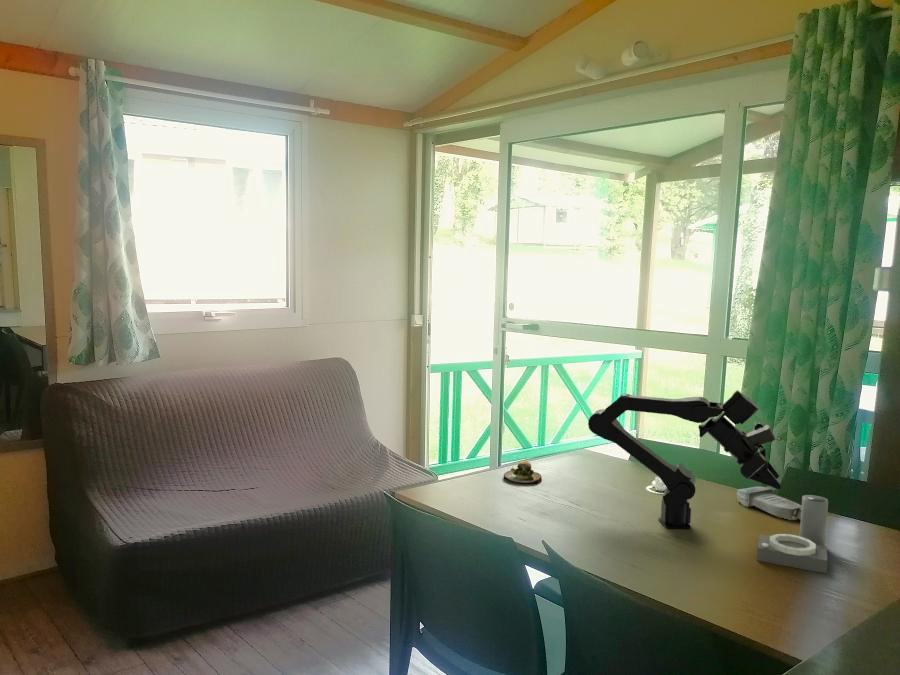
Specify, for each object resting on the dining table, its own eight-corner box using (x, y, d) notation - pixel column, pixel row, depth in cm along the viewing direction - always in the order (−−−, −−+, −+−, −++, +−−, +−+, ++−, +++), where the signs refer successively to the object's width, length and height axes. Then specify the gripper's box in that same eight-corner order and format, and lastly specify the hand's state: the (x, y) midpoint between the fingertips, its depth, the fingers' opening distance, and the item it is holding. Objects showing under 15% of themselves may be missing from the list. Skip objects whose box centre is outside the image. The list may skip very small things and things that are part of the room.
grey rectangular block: (756, 560, 156) (757, 543, 155) (759, 546, 164) (760, 529, 164) (826, 574, 149) (827, 555, 149) (825, 558, 158) (826, 540, 157)
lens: (807, 551, 161) (810, 502, 160) (794, 542, 167) (797, 494, 166) (831, 551, 162) (834, 502, 160) (817, 542, 167) (821, 494, 166)
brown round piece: (496, 479, 214) (496, 456, 214) (520, 472, 222) (521, 450, 222) (524, 489, 206) (525, 464, 205) (549, 481, 214) (550, 458, 213)
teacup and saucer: (652, 484, 212) (652, 472, 212) (677, 489, 208) (678, 476, 207) (642, 491, 205) (642, 478, 205) (668, 497, 200) (669, 483, 200)
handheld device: (794, 527, 178) (795, 509, 177) (732, 503, 196) (733, 487, 196) (819, 521, 182) (820, 504, 181) (756, 498, 200) (757, 483, 200)
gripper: (754, 422, 160) (808, 470, 156) (752, 408, 177) (801, 451, 173) (719, 454, 163) (771, 502, 160) (720, 437, 180) (767, 480, 177)
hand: (779, 482), depth 167 cm, fingers open, 9 cm apart
